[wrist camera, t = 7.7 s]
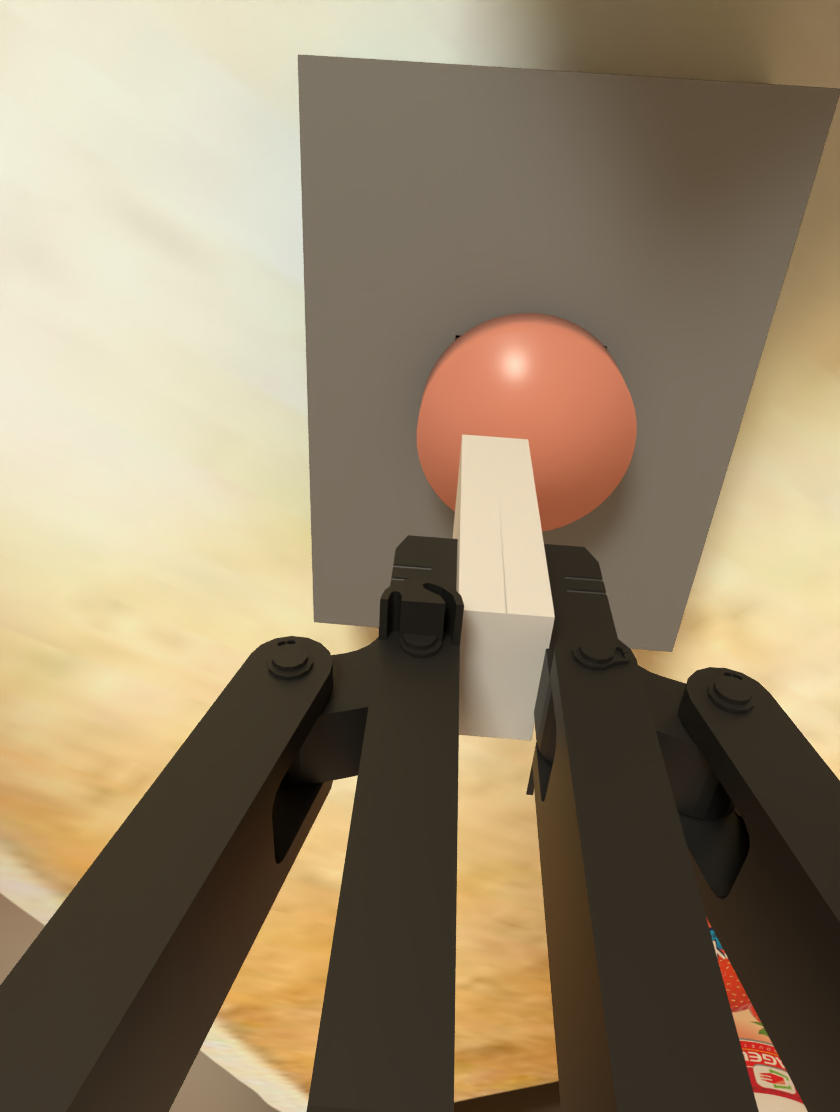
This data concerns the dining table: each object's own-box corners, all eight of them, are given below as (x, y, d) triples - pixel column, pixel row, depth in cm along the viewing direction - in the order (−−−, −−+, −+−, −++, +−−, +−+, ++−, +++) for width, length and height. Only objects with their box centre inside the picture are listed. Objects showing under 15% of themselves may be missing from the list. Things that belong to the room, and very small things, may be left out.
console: (336, 546, 37) (313, 622, 32) (332, 57, 26) (297, 54, 21) (645, 571, 37) (672, 651, 32) (771, 84, 26) (840, 88, 21)
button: (425, 432, 33) (411, 525, 26) (435, 264, 29) (422, 322, 23) (586, 444, 33) (613, 541, 26) (617, 277, 29) (658, 339, 22)
